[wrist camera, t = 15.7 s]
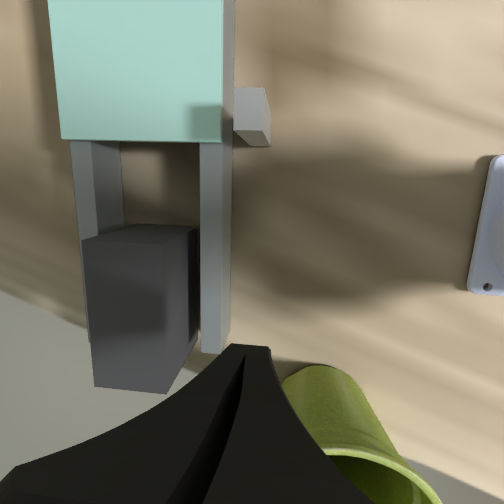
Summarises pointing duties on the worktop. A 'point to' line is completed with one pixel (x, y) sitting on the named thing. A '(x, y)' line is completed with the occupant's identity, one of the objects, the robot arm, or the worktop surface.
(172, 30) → the cover
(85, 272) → the block
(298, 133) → the worktop surface
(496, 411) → the worktop surface
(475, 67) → the worktop surface
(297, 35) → the worktop surface
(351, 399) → the plant pot
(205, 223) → the grey frame
